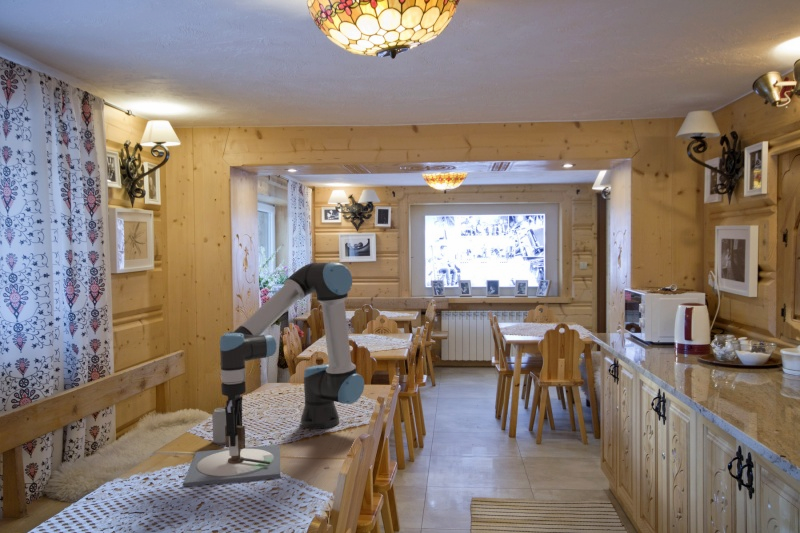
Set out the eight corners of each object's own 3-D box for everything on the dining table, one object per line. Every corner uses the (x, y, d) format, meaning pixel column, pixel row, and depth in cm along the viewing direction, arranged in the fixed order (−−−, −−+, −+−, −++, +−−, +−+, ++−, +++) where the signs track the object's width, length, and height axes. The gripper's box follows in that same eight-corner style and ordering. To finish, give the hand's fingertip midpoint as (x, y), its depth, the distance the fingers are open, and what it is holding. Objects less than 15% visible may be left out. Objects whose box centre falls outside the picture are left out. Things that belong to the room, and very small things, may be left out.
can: (228, 445, 215) (227, 412, 215) (209, 444, 217) (208, 411, 216) (238, 438, 223) (237, 406, 222) (219, 437, 224) (218, 406, 224)
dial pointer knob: (232, 457, 198) (231, 422, 198) (274, 463, 192) (273, 427, 192) (222, 462, 194) (221, 427, 193) (264, 468, 187) (263, 432, 187)
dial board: (279, 447, 211) (279, 443, 211) (280, 477, 184) (280, 472, 184) (196, 455, 206) (196, 450, 206) (184, 486, 178) (184, 481, 178)
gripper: (228, 376, 202) (230, 445, 203) (214, 387, 186) (216, 462, 187) (250, 375, 202) (252, 444, 203) (239, 387, 186) (241, 462, 187)
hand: (235, 453), depth 195 cm, fingers closed on dial pointer knob, 3 cm apart
